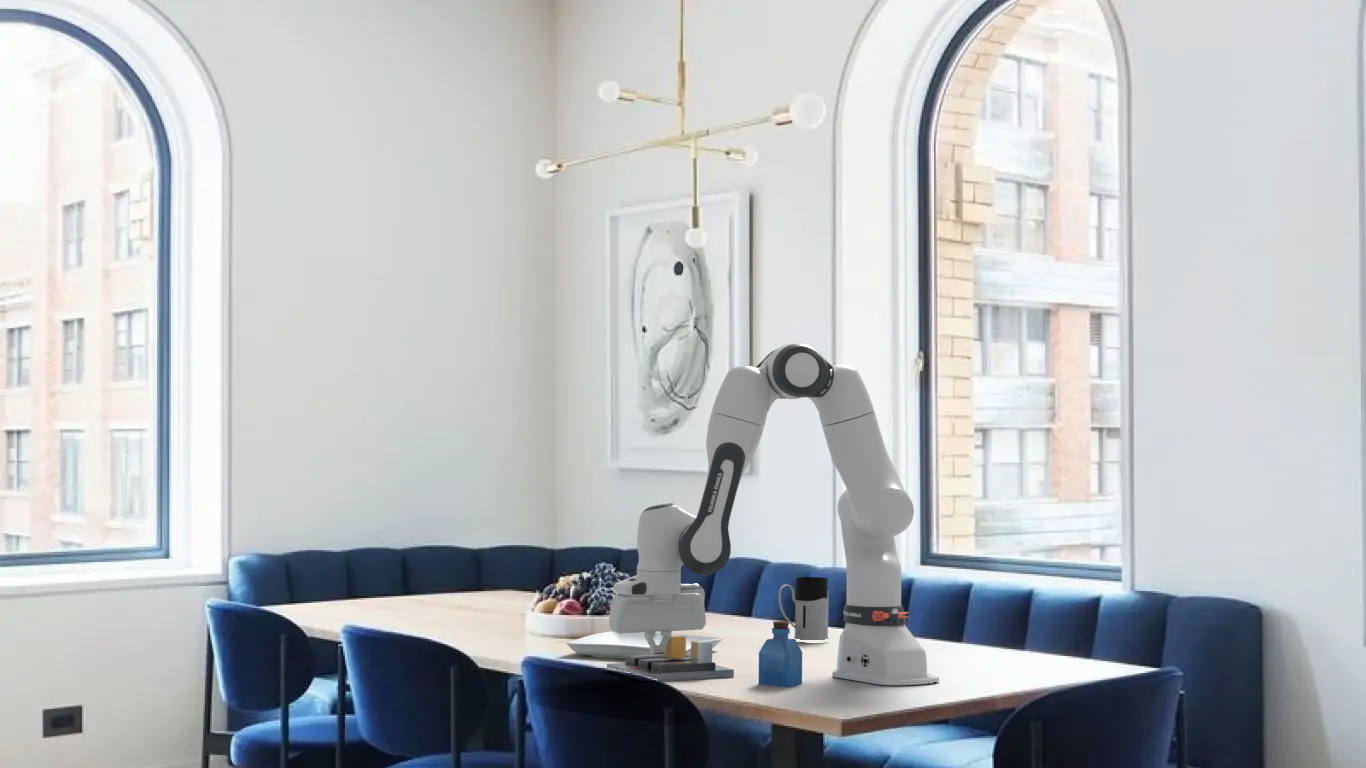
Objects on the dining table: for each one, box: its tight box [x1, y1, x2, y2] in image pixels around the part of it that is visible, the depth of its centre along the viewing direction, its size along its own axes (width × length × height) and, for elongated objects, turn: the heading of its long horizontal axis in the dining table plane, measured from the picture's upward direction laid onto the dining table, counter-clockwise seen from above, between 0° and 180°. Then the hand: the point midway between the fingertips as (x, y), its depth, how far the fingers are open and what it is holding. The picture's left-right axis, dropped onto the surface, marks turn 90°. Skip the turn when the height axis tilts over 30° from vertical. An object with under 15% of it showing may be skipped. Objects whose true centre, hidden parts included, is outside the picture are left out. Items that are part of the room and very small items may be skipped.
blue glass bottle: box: [758, 620, 803, 688], centre depth 325 cm, size 6×6×12 cm
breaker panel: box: [606, 633, 735, 682], centre depth 336 cm, size 17×20×7 cm
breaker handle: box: [664, 636, 686, 658], centre depth 337 cm, size 3×3×4 cm
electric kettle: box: [777, 576, 829, 640], centre depth 397 cm, size 9×14×15 cm, turn 124°
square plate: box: [565, 630, 723, 660], centre depth 369 cm, size 27×27×4 cm
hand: (657, 654), depth 335 cm, fingers closed
